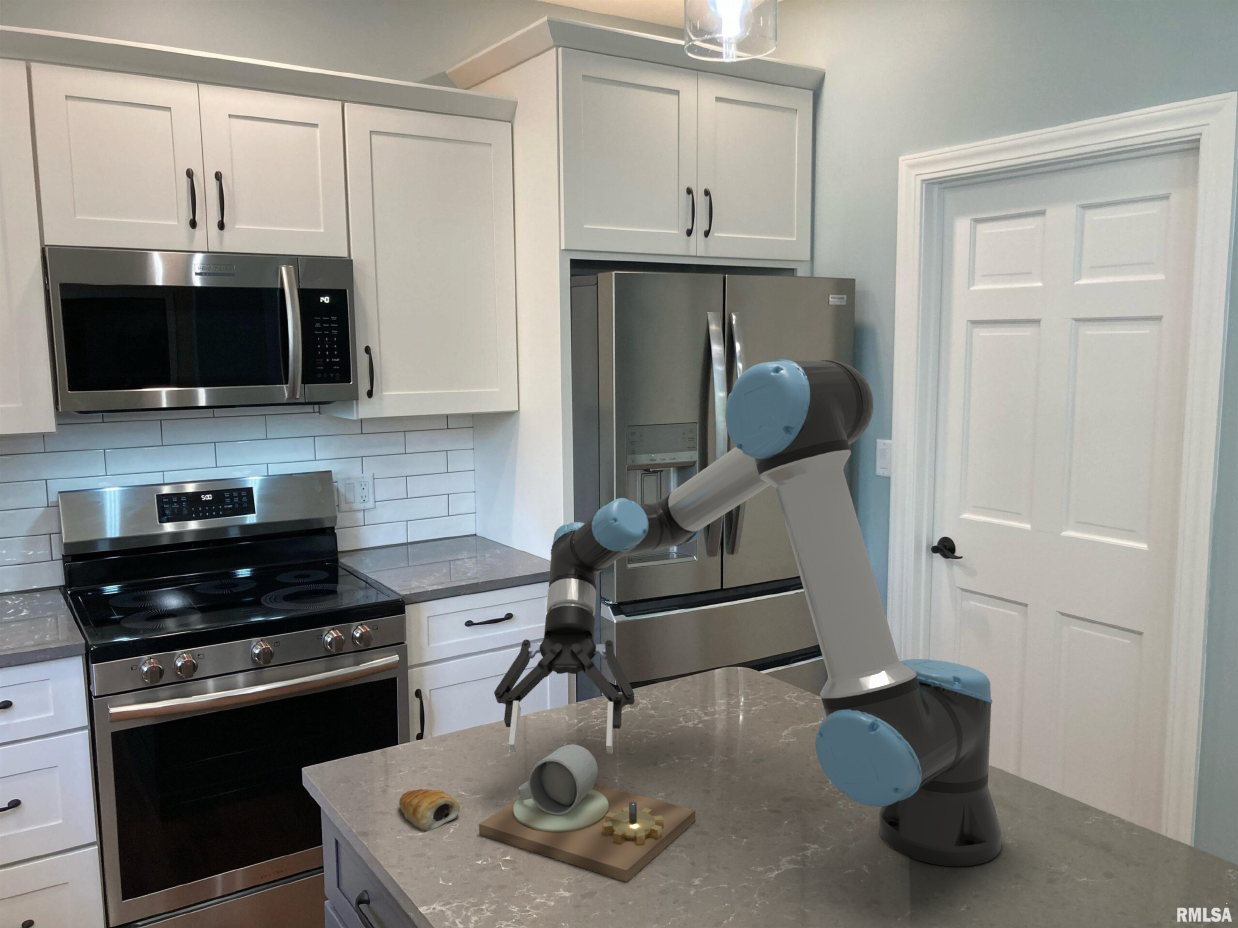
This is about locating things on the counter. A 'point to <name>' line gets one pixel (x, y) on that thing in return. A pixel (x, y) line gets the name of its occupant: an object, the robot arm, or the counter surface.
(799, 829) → the counter surface
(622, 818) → the gear
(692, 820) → the gear board
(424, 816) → the pastry
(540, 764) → the ceramic mug
